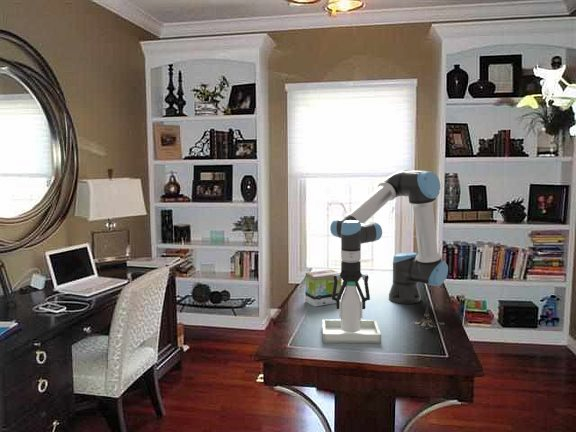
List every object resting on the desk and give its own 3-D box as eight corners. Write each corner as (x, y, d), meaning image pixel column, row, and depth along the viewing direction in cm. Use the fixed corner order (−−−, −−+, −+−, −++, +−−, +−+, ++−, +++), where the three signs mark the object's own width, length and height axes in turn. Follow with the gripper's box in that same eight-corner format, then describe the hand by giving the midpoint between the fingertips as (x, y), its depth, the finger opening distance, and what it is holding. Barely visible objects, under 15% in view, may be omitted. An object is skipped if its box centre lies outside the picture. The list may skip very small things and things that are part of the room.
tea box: (315, 307, 224) (315, 277, 222) (304, 301, 233) (304, 272, 231) (341, 302, 231) (342, 272, 229) (330, 297, 240) (330, 268, 238)
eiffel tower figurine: (444, 324, 202) (445, 293, 200) (446, 332, 192) (447, 300, 190) (408, 321, 206) (409, 291, 204) (408, 330, 196) (409, 298, 194)
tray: (375, 328, 197) (375, 319, 196) (381, 343, 181) (381, 334, 181) (322, 327, 198) (322, 319, 198) (323, 342, 182) (323, 334, 182)
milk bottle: (359, 333, 185) (360, 283, 182) (340, 332, 186) (340, 282, 184) (360, 326, 192) (361, 278, 190) (341, 325, 194) (341, 277, 191)
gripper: (324, 262, 182) (325, 320, 185) (378, 262, 181) (377, 320, 184) (324, 258, 190) (324, 313, 193) (376, 258, 189) (375, 313, 192)
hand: (350, 316), depth 189 cm, fingers closed on milk bottle, 7 cm apart
